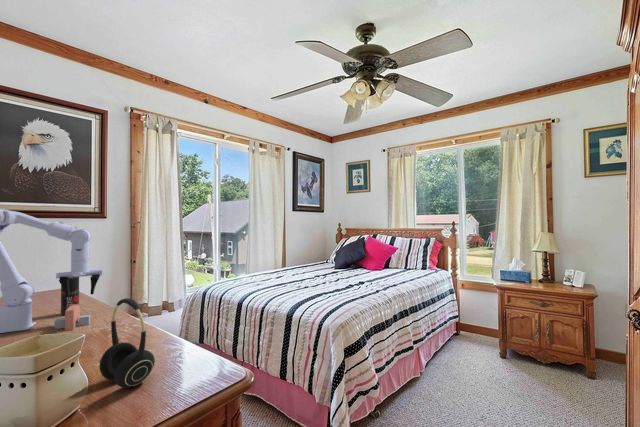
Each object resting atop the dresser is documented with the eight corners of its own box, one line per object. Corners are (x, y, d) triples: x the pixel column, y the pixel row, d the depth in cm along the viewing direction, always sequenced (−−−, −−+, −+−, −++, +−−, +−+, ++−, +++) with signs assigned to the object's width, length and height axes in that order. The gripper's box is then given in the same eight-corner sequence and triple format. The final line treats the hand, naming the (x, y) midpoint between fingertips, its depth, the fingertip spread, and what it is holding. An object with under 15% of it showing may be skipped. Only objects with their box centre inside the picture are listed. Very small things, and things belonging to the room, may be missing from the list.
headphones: (130, 367, 82) (130, 291, 83) (162, 382, 74) (162, 298, 75) (92, 382, 75) (93, 298, 75) (124, 400, 67) (124, 307, 67)
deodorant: (63, 316, 127) (63, 279, 127) (59, 313, 130) (59, 278, 131) (80, 313, 131) (81, 277, 132) (76, 310, 135) (76, 275, 135)
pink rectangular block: (65, 330, 110) (65, 310, 110) (72, 322, 119) (72, 304, 119) (73, 329, 111) (73, 309, 111) (79, 321, 120) (80, 303, 120)
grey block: (54, 329, 112) (54, 320, 112) (56, 327, 114) (56, 318, 114) (88, 324, 116) (88, 316, 117) (90, 322, 119) (90, 314, 119)
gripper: (53, 262, 115) (53, 299, 114) (101, 260, 121) (100, 295, 121) (59, 260, 121) (58, 295, 121) (104, 258, 128) (103, 291, 127)
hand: (80, 295), depth 121 cm, fingers open, 7 cm apart
